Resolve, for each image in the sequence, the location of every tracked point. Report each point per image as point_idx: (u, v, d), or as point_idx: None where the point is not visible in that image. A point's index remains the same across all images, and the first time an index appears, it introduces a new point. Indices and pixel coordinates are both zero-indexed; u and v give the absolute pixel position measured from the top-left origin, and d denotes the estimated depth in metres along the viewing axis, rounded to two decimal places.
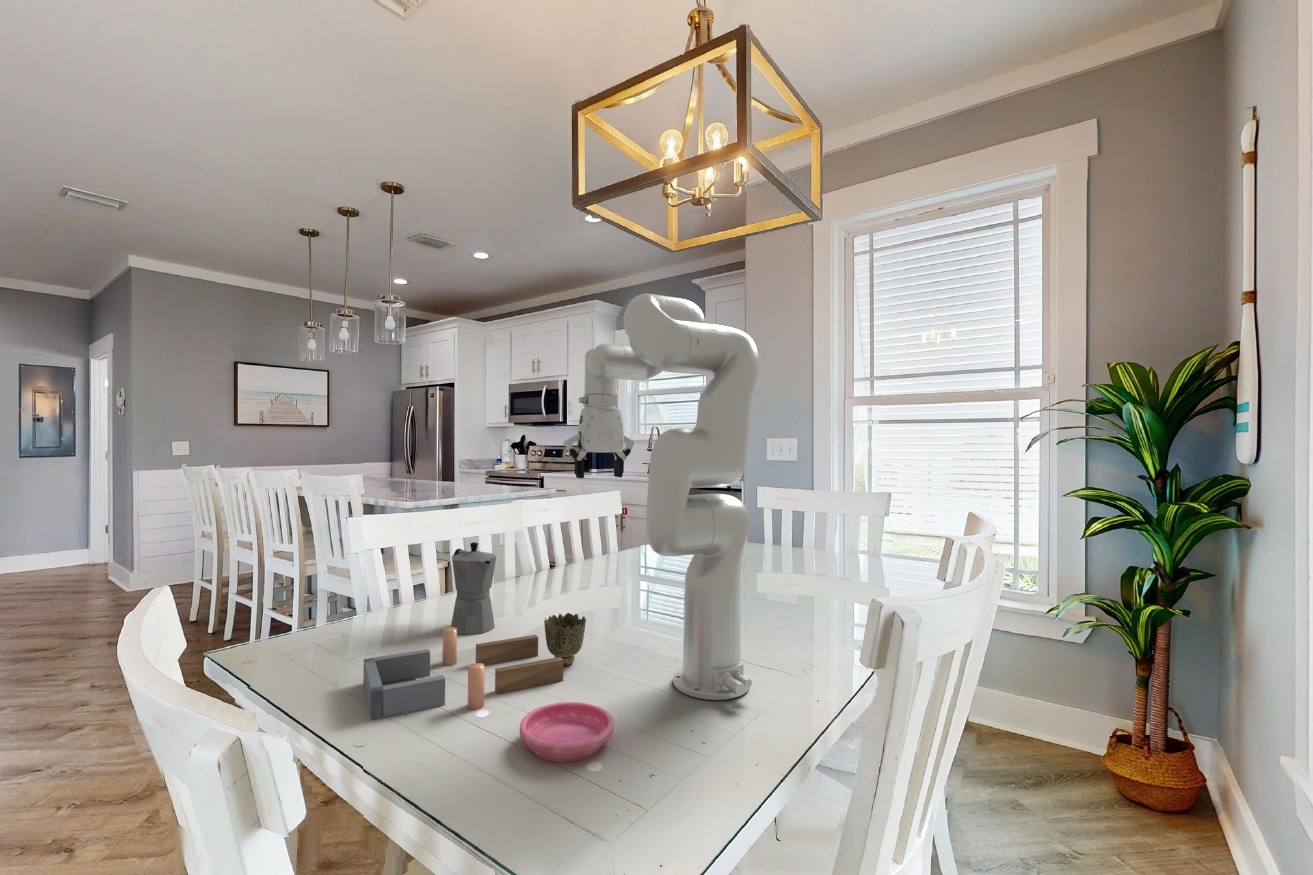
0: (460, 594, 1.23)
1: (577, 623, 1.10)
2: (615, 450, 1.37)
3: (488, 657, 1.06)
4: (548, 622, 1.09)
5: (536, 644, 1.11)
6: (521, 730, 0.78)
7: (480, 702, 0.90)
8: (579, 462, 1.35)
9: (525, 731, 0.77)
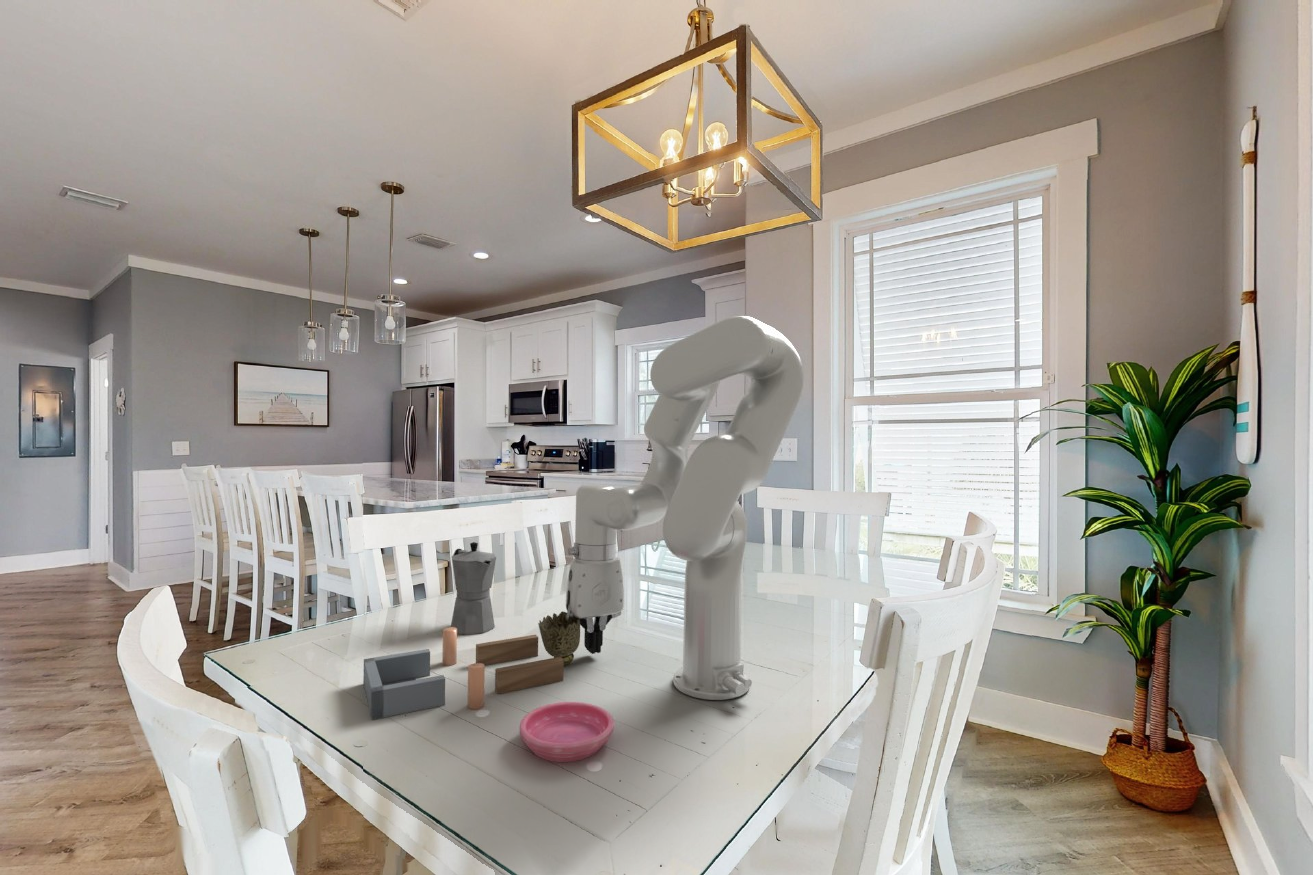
0: (460, 594, 1.23)
1: None
2: (613, 612, 1.10)
3: (488, 657, 1.06)
4: (543, 623, 1.08)
5: (536, 644, 1.11)
6: (521, 730, 0.78)
7: (480, 702, 0.90)
8: (590, 633, 1.10)
9: (525, 731, 0.77)
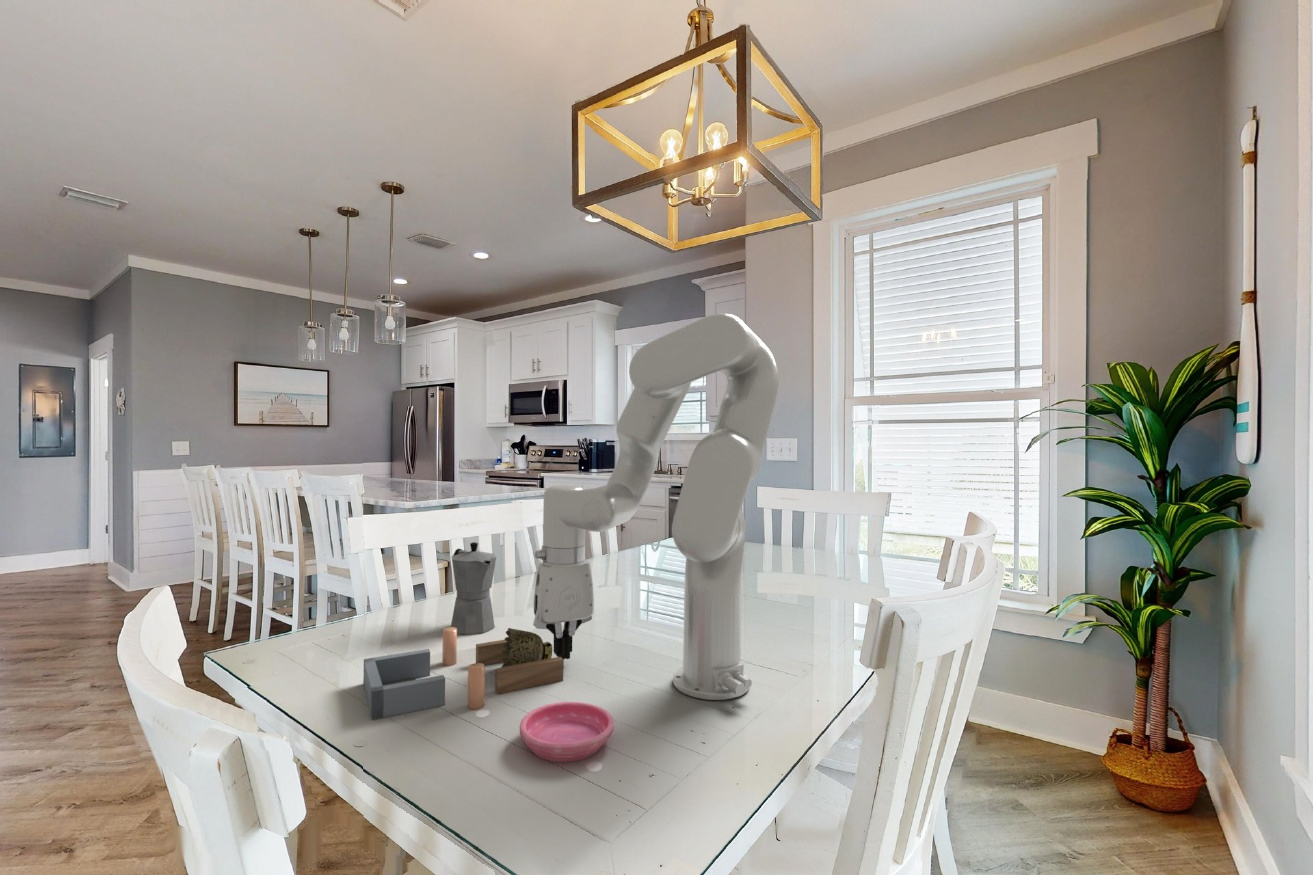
0: (460, 594, 1.23)
1: None
2: (582, 617, 1.06)
3: (488, 657, 1.06)
4: (508, 655, 1.06)
5: None
6: (521, 730, 0.78)
7: (480, 702, 0.90)
8: (559, 639, 1.06)
9: (525, 731, 0.77)
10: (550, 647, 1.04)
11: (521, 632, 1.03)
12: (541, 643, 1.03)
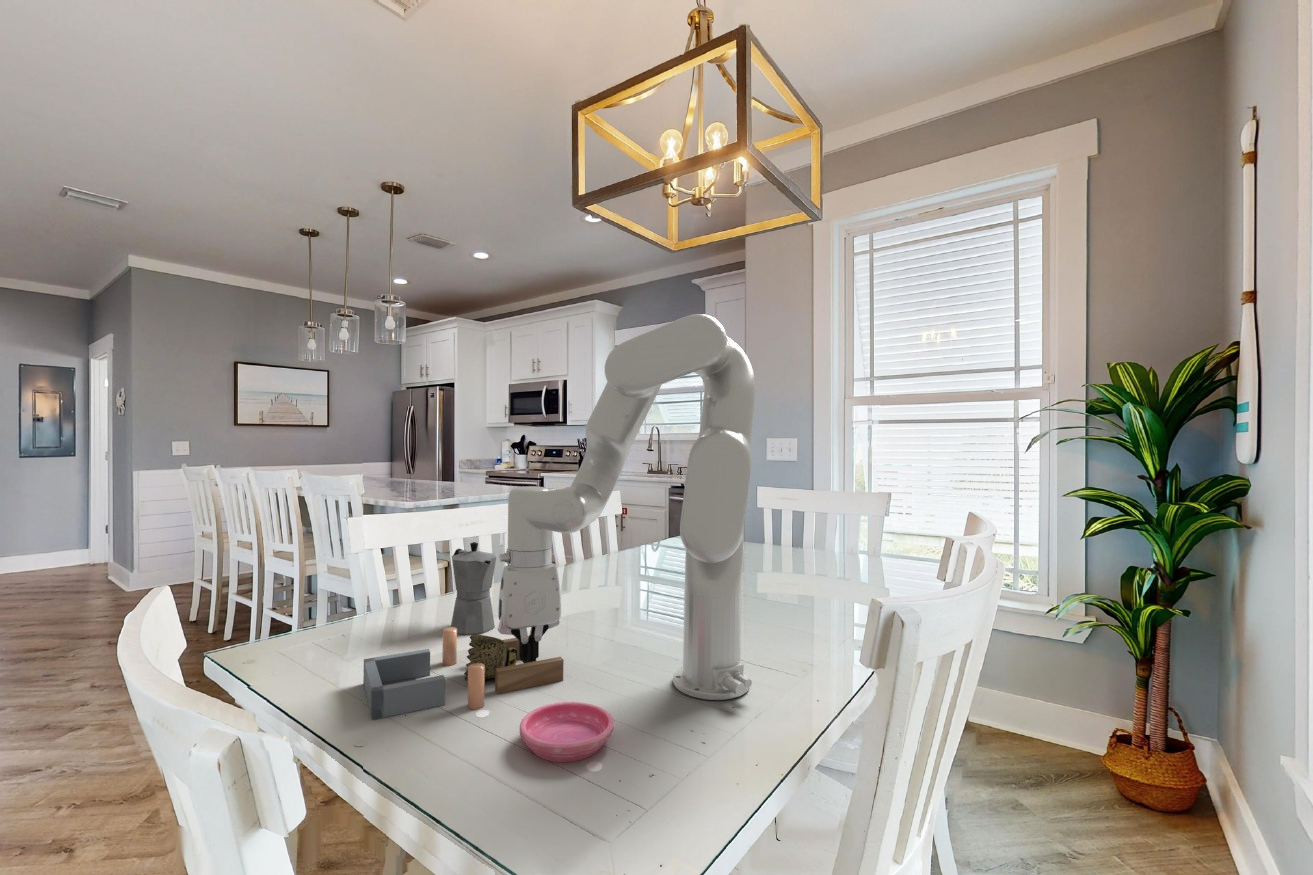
0: (460, 594, 1.23)
1: None
2: (549, 622, 1.03)
3: None
4: None
5: None
6: (521, 730, 0.78)
7: (480, 702, 0.90)
8: (525, 645, 1.03)
9: (525, 731, 0.77)
10: (514, 653, 1.01)
11: (484, 638, 1.00)
12: (505, 649, 1.00)
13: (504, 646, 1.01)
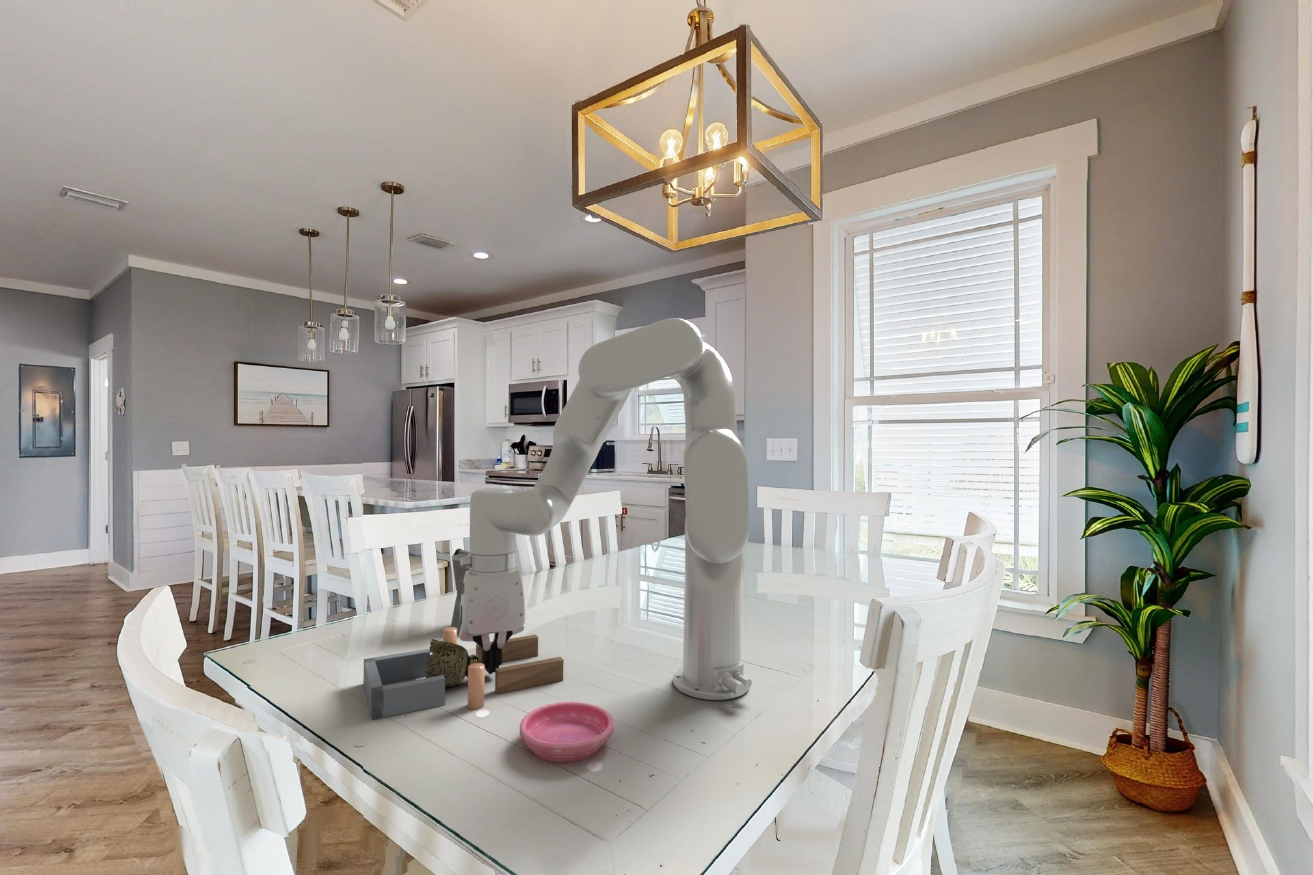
0: (460, 594, 1.23)
1: (441, 642, 0.98)
2: (512, 628, 1.00)
3: None
4: None
5: (536, 644, 1.11)
6: (521, 730, 0.78)
7: (480, 702, 0.90)
8: (487, 652, 1.00)
9: (525, 731, 0.77)
10: (475, 661, 0.98)
11: (444, 644, 0.97)
12: (465, 656, 0.97)
13: (465, 653, 0.97)
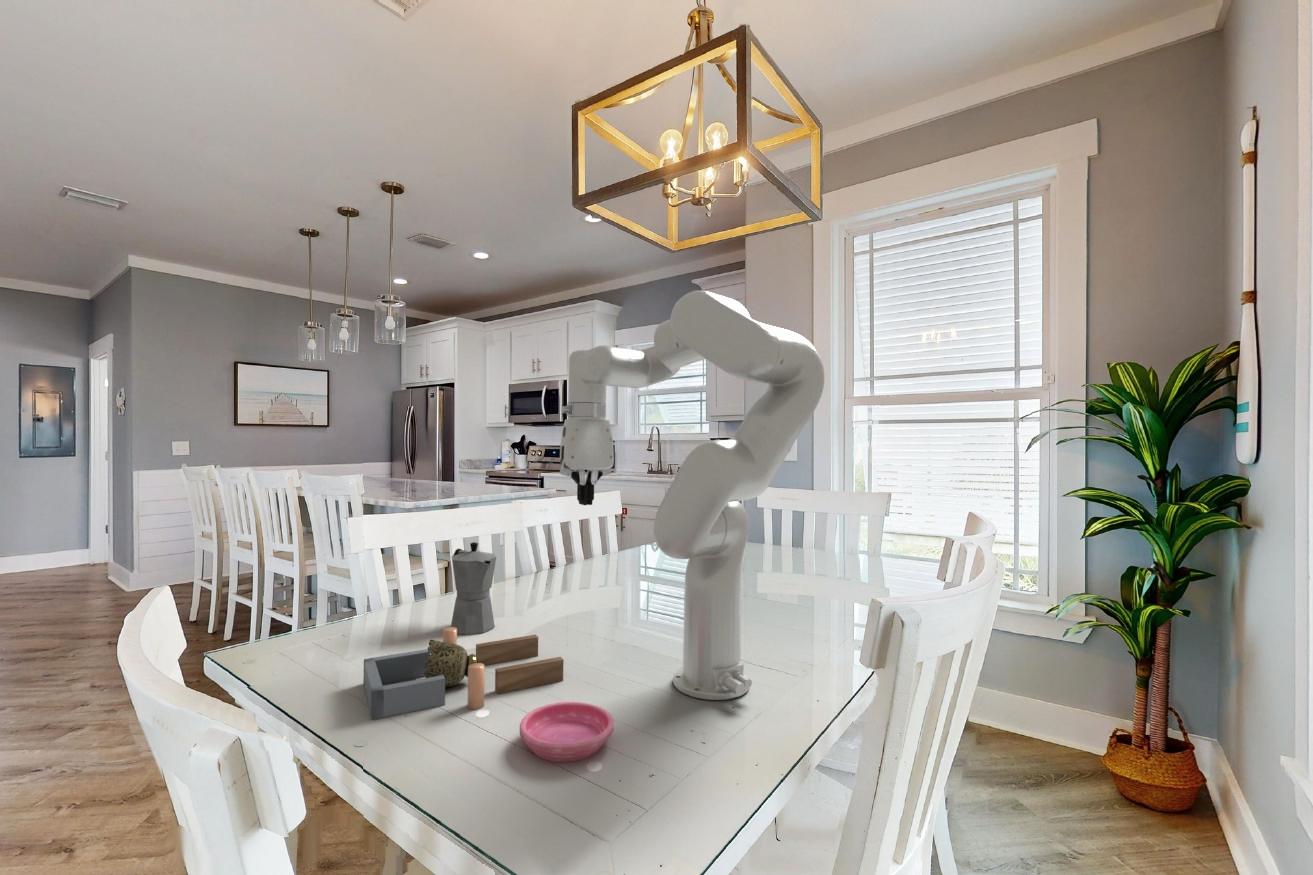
0: (460, 594, 1.23)
1: None
2: (603, 467, 1.19)
3: (488, 657, 1.06)
4: None
5: (536, 644, 1.11)
6: (521, 730, 0.78)
7: (480, 702, 0.90)
8: (582, 487, 1.19)
9: (525, 731, 0.77)
10: (474, 660, 0.98)
11: (442, 644, 0.97)
12: (464, 656, 0.97)
13: (463, 653, 0.97)
